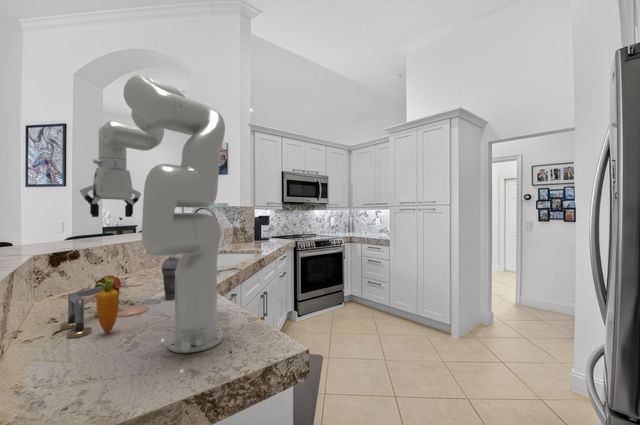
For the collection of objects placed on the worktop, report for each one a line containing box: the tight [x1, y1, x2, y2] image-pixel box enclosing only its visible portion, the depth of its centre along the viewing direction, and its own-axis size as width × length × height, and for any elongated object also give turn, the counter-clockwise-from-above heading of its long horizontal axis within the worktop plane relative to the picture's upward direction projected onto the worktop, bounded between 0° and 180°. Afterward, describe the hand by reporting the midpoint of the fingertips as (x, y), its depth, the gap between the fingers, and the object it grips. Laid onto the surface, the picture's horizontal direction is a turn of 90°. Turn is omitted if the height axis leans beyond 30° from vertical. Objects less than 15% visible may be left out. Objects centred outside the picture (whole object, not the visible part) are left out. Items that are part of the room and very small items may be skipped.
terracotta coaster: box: [117, 304, 150, 318], centre depth 94 cm, size 10×10×1 cm
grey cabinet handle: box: [60, 286, 105, 339], centre depth 83 cm, size 21×10×9 cm, turn 18°
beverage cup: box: [160, 255, 180, 301], centre depth 110 cm, size 7×7×20 cm
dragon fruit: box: [93, 274, 122, 294], centre depth 116 cm, size 8×8×12 cm
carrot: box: [95, 276, 120, 335], centre depth 76 cm, size 5×5×15 cm
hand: (112, 216), depth 95 cm, fingers open, 9 cm apart
